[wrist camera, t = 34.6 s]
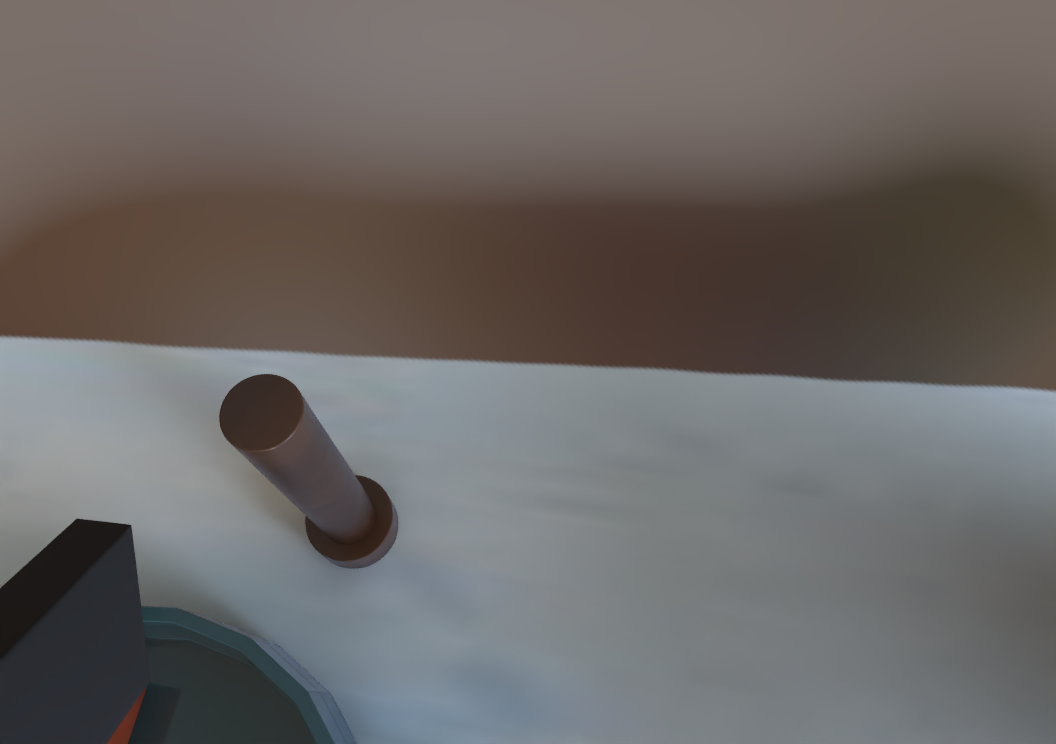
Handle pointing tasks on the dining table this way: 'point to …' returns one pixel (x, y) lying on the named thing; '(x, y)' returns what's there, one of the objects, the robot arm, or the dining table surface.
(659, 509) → the dining table surface
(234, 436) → the pestle
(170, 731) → the bowl
